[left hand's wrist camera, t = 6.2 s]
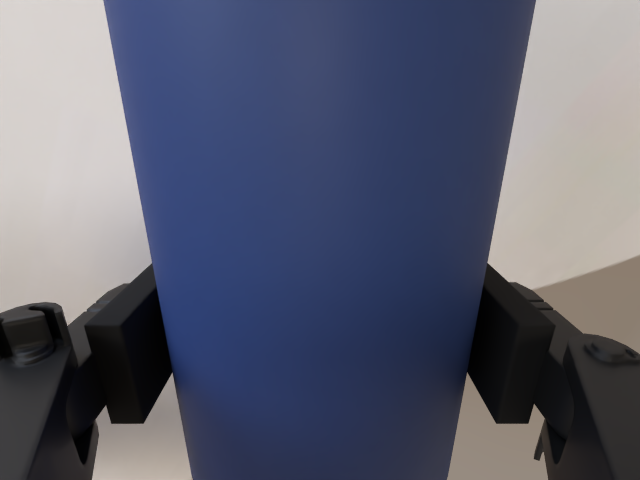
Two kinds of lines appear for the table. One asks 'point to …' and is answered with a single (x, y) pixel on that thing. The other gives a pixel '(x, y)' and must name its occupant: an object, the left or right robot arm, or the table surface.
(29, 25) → the table surface
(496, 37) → the rod
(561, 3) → the table surface
